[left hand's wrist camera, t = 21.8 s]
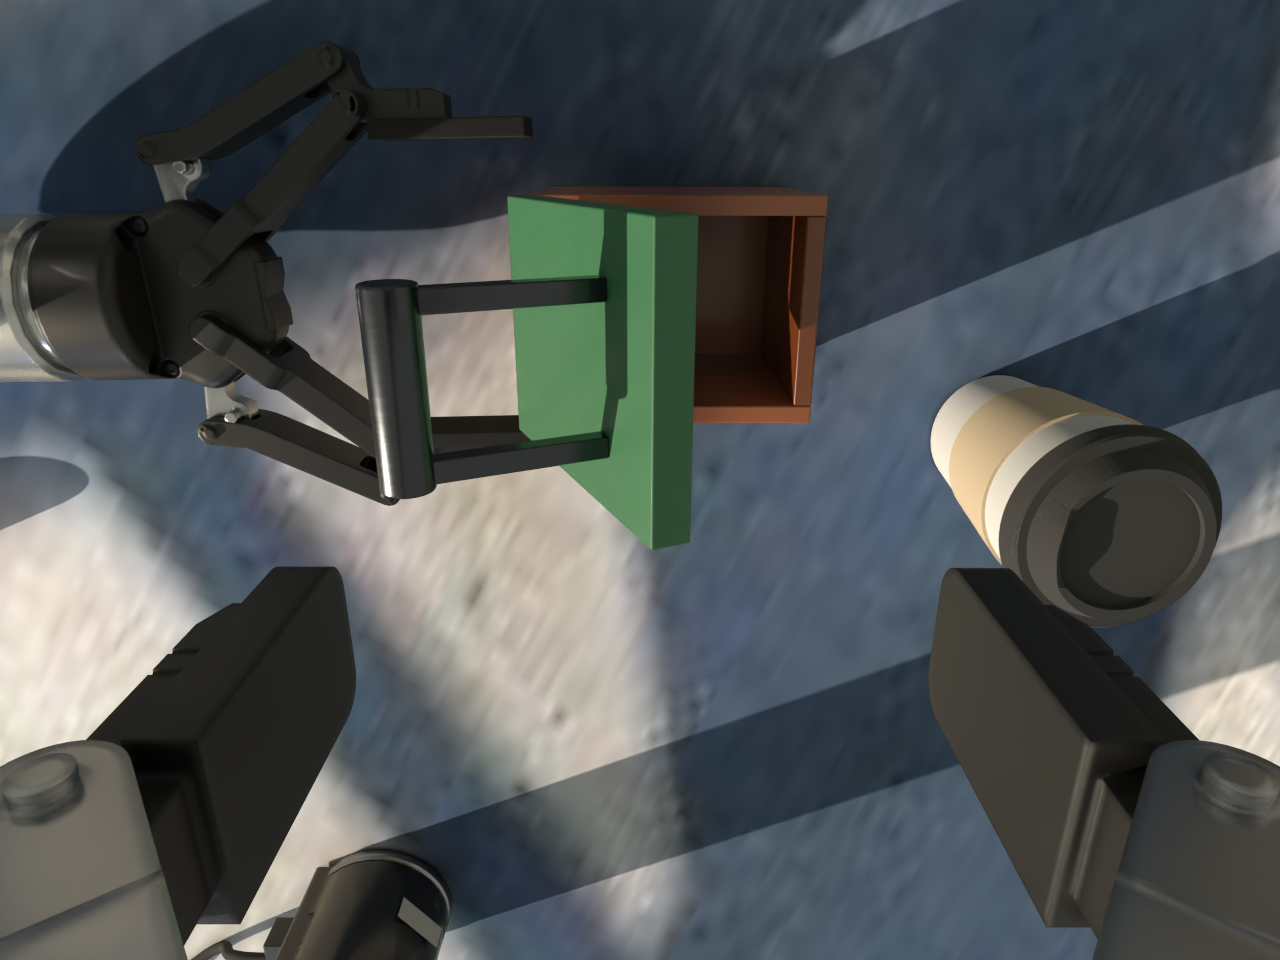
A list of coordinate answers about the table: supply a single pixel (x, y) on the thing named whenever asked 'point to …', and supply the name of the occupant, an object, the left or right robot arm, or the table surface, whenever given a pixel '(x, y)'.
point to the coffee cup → (1079, 498)
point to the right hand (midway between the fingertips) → (540, 288)
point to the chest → (745, 293)
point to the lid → (560, 361)
